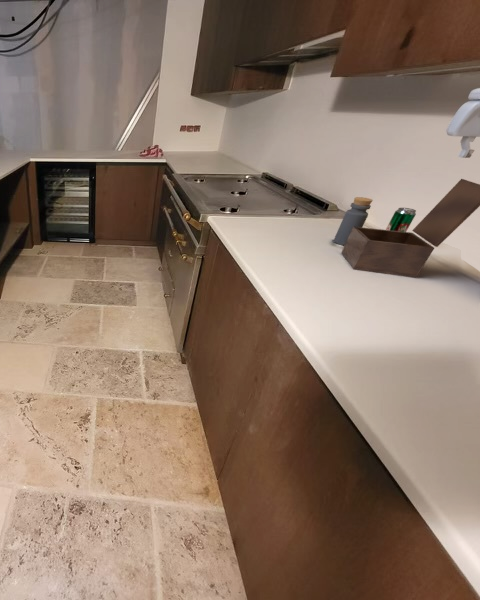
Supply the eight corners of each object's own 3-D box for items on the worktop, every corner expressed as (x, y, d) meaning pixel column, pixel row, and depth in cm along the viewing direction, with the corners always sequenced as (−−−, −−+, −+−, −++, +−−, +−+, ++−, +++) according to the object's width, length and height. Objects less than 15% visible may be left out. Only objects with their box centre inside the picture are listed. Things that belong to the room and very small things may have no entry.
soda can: (380, 240, 113) (398, 206, 106) (398, 244, 110) (418, 209, 103) (377, 244, 110) (396, 209, 103) (397, 248, 107) (417, 212, 100)
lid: (492, 188, 75) (496, 190, 75) (461, 178, 85) (464, 179, 85) (434, 245, 84) (437, 247, 84) (411, 230, 94) (414, 231, 94)
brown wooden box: (353, 269, 93) (367, 240, 89) (341, 253, 103) (353, 226, 99) (416, 277, 89) (434, 248, 84) (396, 259, 99) (412, 232, 94)
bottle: (330, 242, 111) (350, 198, 103) (336, 238, 114) (355, 195, 106) (351, 247, 107) (372, 202, 99) (355, 243, 110) (377, 199, 102)
